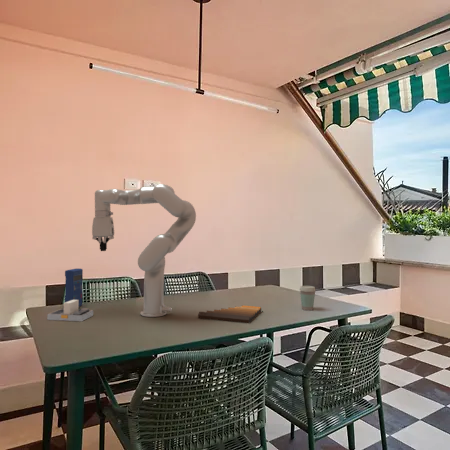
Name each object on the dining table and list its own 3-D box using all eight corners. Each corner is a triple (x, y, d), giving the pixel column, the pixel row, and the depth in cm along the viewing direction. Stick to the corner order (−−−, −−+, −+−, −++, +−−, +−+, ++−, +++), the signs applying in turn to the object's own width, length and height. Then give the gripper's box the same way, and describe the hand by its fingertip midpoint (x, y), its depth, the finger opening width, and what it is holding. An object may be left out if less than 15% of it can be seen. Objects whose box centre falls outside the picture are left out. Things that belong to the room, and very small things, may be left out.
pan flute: (197, 319, 180) (248, 324, 172) (198, 312, 180) (248, 317, 172) (215, 308, 204) (261, 312, 196) (215, 302, 204) (261, 306, 196)
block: (78, 314, 183) (78, 299, 183) (69, 318, 175) (69, 303, 175) (72, 314, 183) (72, 299, 183) (63, 318, 175) (63, 303, 175)
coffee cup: (317, 308, 205) (317, 286, 205) (313, 311, 198) (314, 288, 198) (301, 306, 209) (301, 285, 209) (297, 309, 201) (297, 287, 201)
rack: (93, 315, 183) (93, 308, 183) (81, 321, 172) (81, 313, 172) (60, 314, 185) (60, 306, 185) (46, 319, 174) (47, 312, 174)
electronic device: (72, 309, 196) (73, 270, 196) (63, 308, 197) (64, 270, 197) (83, 305, 205) (83, 268, 205) (74, 305, 206) (75, 268, 206)
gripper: (119, 214, 195) (120, 250, 195) (91, 215, 196) (91, 250, 196) (114, 214, 188) (115, 251, 188) (85, 214, 189) (85, 251, 189)
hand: (103, 250), depth 192 cm, fingers closed
